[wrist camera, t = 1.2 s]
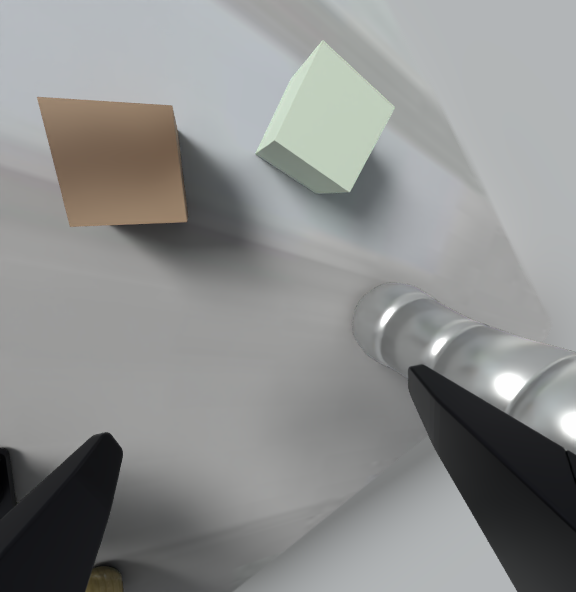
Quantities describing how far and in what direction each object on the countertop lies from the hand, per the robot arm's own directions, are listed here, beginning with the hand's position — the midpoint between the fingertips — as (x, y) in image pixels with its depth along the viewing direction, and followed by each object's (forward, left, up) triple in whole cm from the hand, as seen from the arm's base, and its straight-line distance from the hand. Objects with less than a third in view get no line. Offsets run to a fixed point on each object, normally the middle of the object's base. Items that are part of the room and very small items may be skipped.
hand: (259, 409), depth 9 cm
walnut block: (+7, +5, -14) cm, 16 cm away
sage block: (+11, -5, -14) cm, 18 cm away
